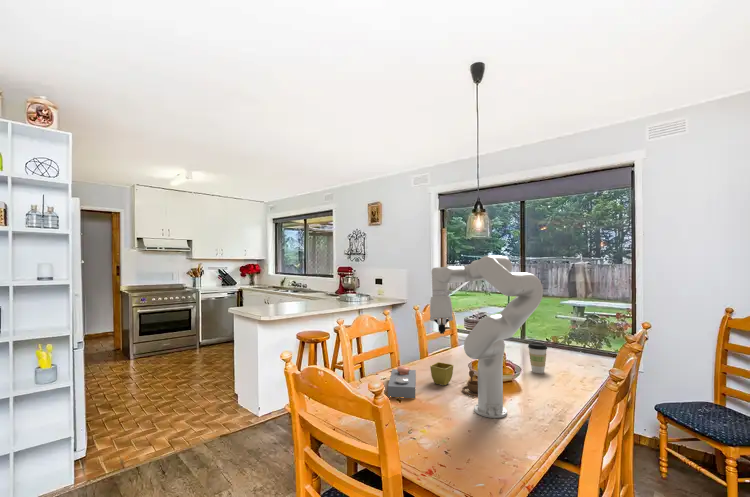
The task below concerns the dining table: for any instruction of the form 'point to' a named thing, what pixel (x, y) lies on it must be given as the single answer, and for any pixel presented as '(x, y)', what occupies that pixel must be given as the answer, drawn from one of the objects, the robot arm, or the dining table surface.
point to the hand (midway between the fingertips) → (441, 333)
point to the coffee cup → (537, 356)
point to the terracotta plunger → (403, 370)
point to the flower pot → (441, 373)
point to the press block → (402, 385)
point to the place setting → (471, 386)
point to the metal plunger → (402, 380)
